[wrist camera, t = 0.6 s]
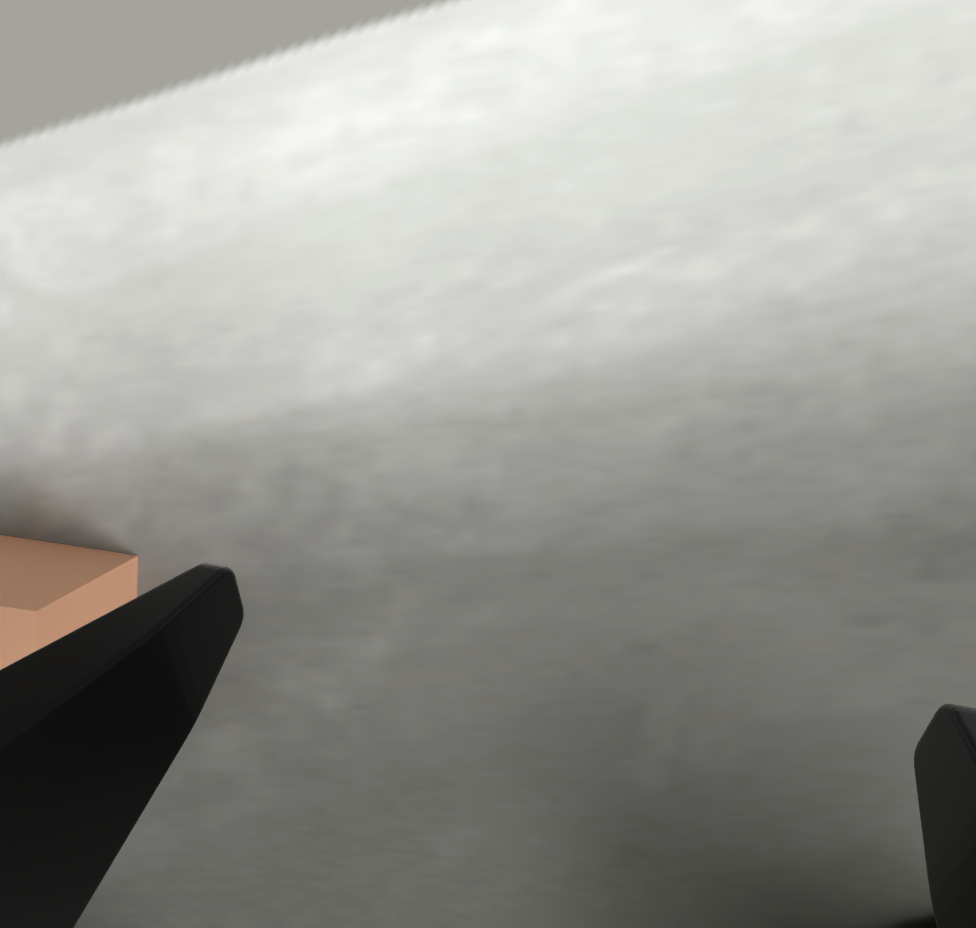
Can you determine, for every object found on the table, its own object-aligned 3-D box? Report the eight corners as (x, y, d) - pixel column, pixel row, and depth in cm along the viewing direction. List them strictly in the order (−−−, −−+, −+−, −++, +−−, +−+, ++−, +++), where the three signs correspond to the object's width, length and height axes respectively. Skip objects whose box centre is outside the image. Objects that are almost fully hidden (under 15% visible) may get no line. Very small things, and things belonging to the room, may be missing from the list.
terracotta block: (135, 685, 25) (36, 771, 20) (4, 664, 25) (-126, 744, 20) (139, 554, 24) (36, 611, 19) (2, 534, 24) (-134, 585, 19)
